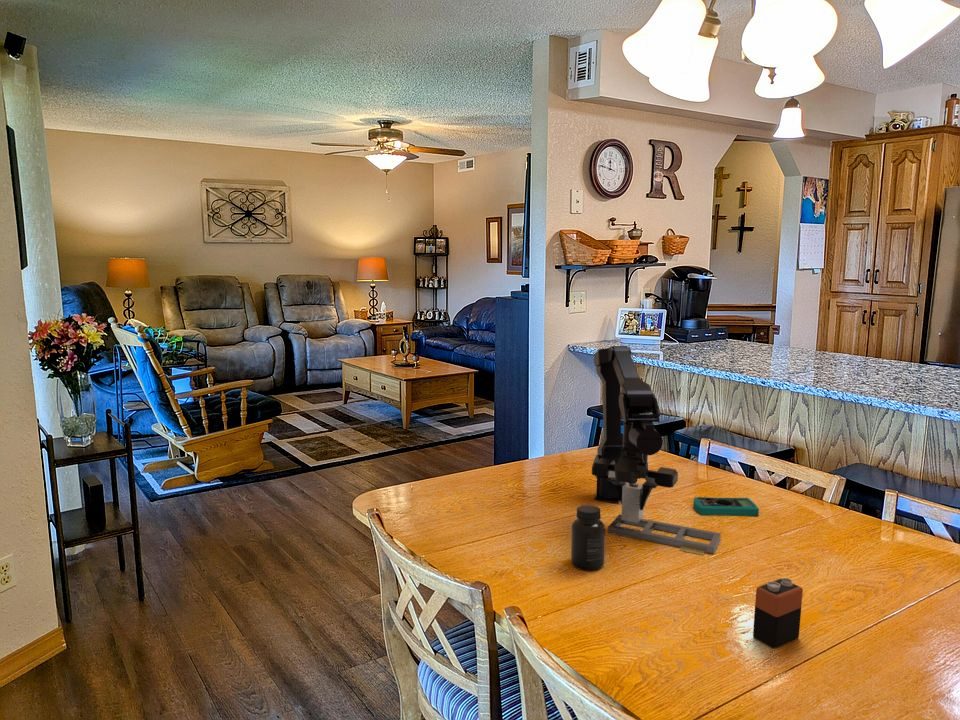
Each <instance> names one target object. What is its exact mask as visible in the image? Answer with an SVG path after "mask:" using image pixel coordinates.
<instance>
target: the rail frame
mask: <svg viewBox="0 0 960 720" xmlns="http://www.w3.org/2000/svg"><path fill="white" fill-rule="evenodd" d="M621 515H622V514H620V513H619V514H618V515H617V516H616V518H615V519H613V521H612V522H611V523H610V524H609V525H608V527H607V531H608V534H612V535H617V536H621V537H622V536H623V537H627V538H632V539H638V540H642V541H648V542H651V543H658V544H662V545H665V546H666V545H667V546H671V547H677V548H679V551H681V552H687V553H691V554H695V555H700V556H704V555H705V554H711V555H715V553H716V551H717V549H718V546H719V544H720V542H721V537H722V535H721V534H722V533H720V532H717V531H716V532H715V531H711V530H706V529H705V530H704V529H699V528H694V527H690V526H684V525H678V524H673V523H668V522H661V521H657V520H652V519H646V518H642V519H641V521H640V522H639V523H636V522H630V521H625V520H621ZM623 524H626V525H633V526H637V527H641V528H643V529H642V530H638V529H633V528H628V527H624V526H622V525H623ZM654 530H657V531H663V532H669V533H673V534H676V535H675V537H673V536H668V535H664V534H659V533H654V532H653V531H654ZM686 536H689V537H695V538H698V539H699V538H700V539H704V540H709V541H710V542H709V543H703V542H701V541H700V542H699V541H694V540H689V539H685V537H686Z"/></svg>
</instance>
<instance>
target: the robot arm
mask: <svg viewBox="0 0 960 720" xmlns="http://www.w3.org/2000/svg"><path fill="white" fill-rule="evenodd" d="M593 354H594V355H593V364H594V367H595V368H596V369H595V370H596V374H597V375H598V377H599V379H600V381H601V383H602V423H603V426H602V427H603V433H602V434H603V436H602V437H603V438H602V439H601V442H600V443H599V445H598V446H597V449H596V450H597V451H596V452H597V454H596V455H595V456H594V459H593V463H592V465H591V466H592V467H591V475H592V476H594V477H595V478H596V489H595V490H596V492H595V493H596V494H595V496H594V497H593V500H598V501H604V502H608V503H616V504H618V503H620V504H621V506H622V491H623V486H624V485H625V484H626V483H629V484H635V483H638V479H639V480H640V479H644V480H645V481H644V482H643V483H642V484H643V485H642V487H643V491H642V498H641V510H643V511H644V509H645V506H646V505H647V501H648V499H649V497H650V494H651V492H652V490H653V489H656V488H657V487H664V488H670V489H671V488H674V486H675V485H676V484H677V482H678V479H679V474H678V471H677V469H676V468H669V467H663V466H660V467H659V468H658V470H651V469H649V462H648V460H649V457H648V456H654V455H655V454H657V453H658V452H659V451H660V450H661V449H662V447H663V443H664V442H663V438H662V435H661V434H660V432H659V431H658V430H657V429H655V424H654V423H659V422H660V420H661V419H660V417H661V410H660V407H659V406H660V405H659V402H658V399H657V397H656V394H655V393H654V392H653V390H652V388H651V387H650V385H649V384H648V383H647V382H645V381H643V380H642V379H641V377H640V375H639V372H638V370H637V367H636V364H635V363H634V360H633V357H632V348H631V347H630V346H627V345H612V346H609V347H607V348H599V349H598V350H597V351H596V352H594V353H593ZM622 421H623V428H622ZM622 429H623V431H622Z"/></svg>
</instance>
